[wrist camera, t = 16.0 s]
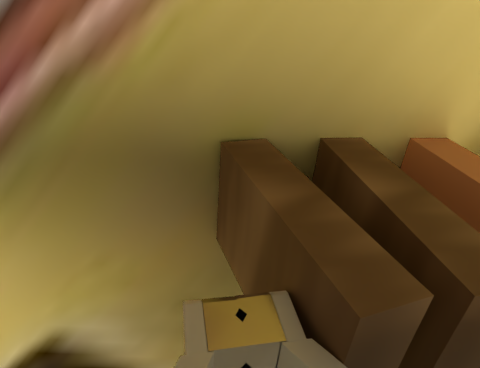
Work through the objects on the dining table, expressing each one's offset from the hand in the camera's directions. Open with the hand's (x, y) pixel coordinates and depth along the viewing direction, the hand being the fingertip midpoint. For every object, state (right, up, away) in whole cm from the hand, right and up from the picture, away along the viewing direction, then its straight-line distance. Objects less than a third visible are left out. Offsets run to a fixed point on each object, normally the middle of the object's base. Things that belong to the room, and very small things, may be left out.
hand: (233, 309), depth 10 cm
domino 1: (0, +3, +6) cm, 7 cm away
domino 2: (+5, +4, +7) cm, 9 cm away
